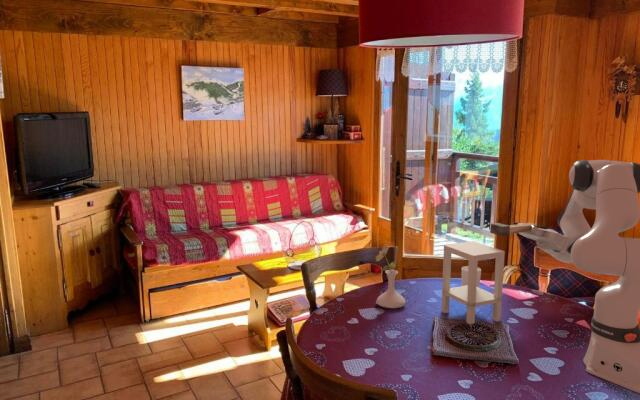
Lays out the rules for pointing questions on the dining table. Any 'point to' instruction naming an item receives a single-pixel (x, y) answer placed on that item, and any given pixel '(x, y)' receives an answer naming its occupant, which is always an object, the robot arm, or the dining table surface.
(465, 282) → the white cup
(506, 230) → the mallet
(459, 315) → the dining table surface
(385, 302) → the flower in vase
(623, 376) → the robot arm
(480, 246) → the shelf stand
